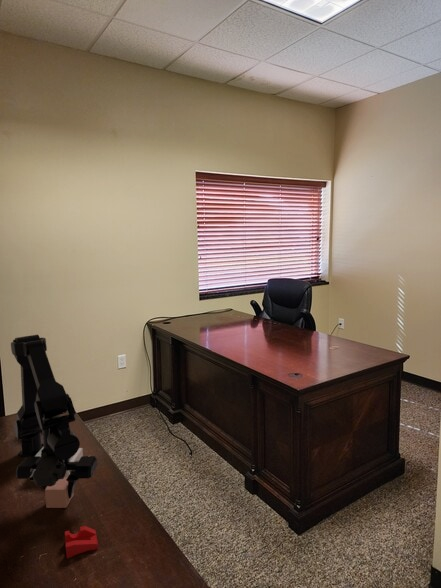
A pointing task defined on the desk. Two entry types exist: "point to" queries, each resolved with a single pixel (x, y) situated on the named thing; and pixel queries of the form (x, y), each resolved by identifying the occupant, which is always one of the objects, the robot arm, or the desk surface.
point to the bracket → (80, 541)
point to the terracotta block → (58, 494)
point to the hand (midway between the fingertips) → (60, 497)
